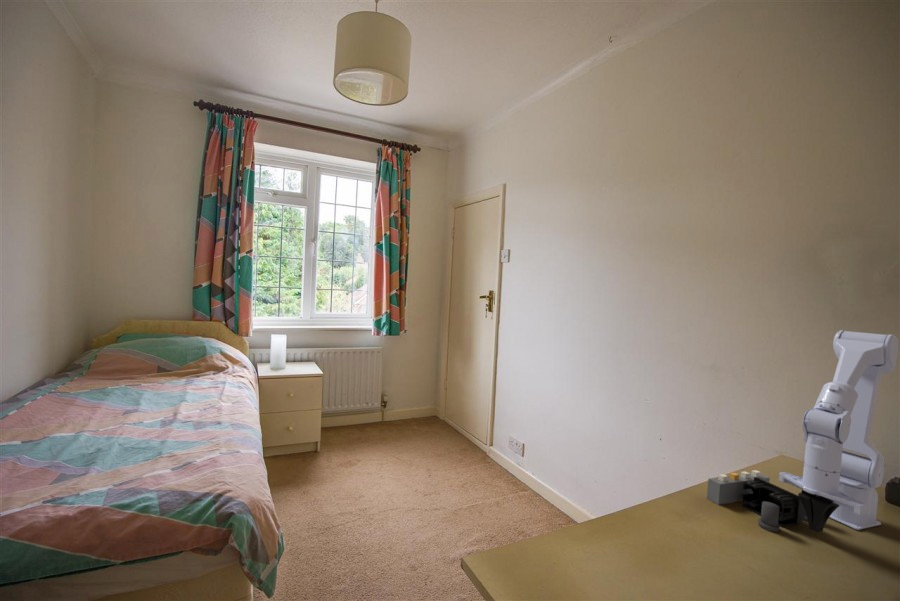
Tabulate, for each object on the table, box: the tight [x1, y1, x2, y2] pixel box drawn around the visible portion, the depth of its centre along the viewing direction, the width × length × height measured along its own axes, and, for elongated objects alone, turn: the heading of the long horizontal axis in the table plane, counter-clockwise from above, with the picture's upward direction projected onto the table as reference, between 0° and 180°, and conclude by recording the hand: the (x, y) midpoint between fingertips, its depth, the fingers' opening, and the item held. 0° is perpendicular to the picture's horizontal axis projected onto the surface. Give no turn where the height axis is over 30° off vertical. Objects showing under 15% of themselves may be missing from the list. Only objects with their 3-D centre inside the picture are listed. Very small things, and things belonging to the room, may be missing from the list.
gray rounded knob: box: [757, 501, 781, 533], centre depth 89 cm, size 4×4×5 cm
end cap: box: [742, 477, 806, 528], centre depth 94 cm, size 10×7×7 cm
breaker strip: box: [706, 469, 771, 505], centre depth 102 cm, size 18×3×6 cm, turn 110°
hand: (815, 529), depth 86 cm, fingers closed
